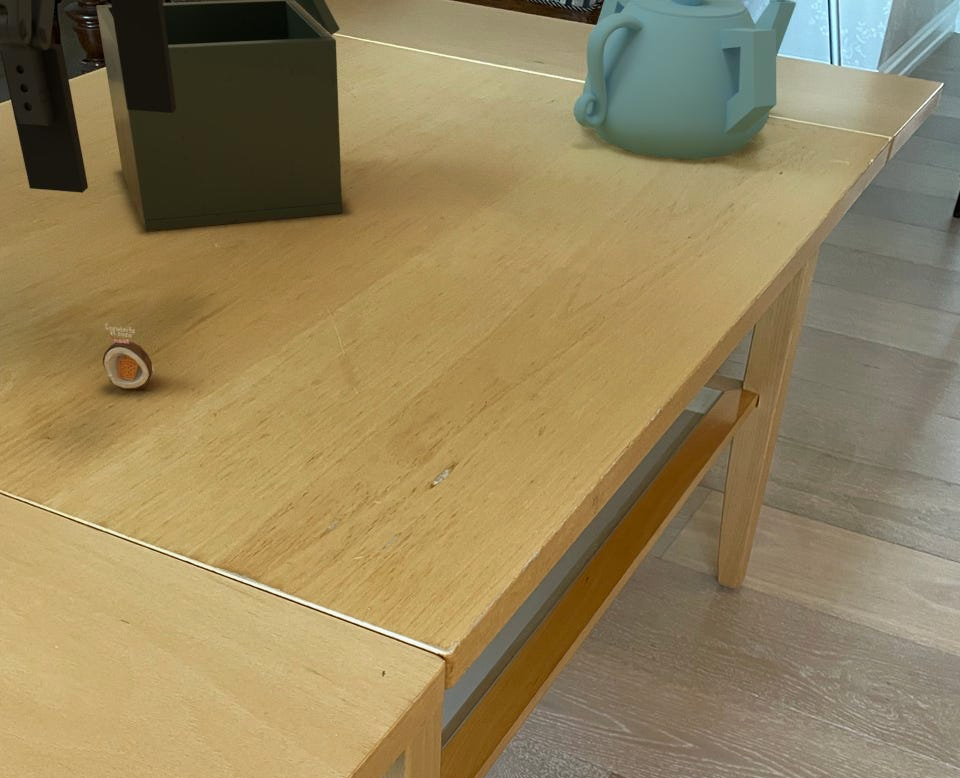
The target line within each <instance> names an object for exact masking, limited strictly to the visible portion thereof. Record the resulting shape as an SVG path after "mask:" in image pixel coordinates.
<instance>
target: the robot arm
mask: <svg viewBox="0 0 960 778" xmlns="http://www.w3.org/2000/svg"><path fill="white" fill-rule="evenodd" d="M163 1H164V0H110V5H111V6H112V13H113V19H114V26H115V32H116V39H117V45H118V52H119V58H120V65H121V71H122V78H123V84H124V91H125V97H126V104H127V110H139V111H152V112H166V113H173V112H174V111H175V110H176V103H175V95H174V87H173V79H172V71H171V63H170V56H169V48H168V40H167V32H166V24H165V16H164V9H163V3H164V2H163ZM55 4H56V0H0V56H1V61H2V66H3V70H4V74H5V78H6V79H5V80H6V84H7V88H8V94H9V99H10V102H11V109H12V112H13V117H14V120H15V126H16V131H17V136H18V140H19V145H20V150H21V155H22V158H23V163H24V168H25V173H26V178H27V182H28V186H29V189H33V190H43V191H44V190H45V191H46V190H47V191H55V192H57V191H58V192H67V193H68V192H69V193H81V194H83V193H84V192H85V191H86V190H87V189H89V184H88V179H87V173H86V168H85V161H84V156H83V152H82V144H81V141H80V135H79V130H78V129H79V128H78V125H77V124H78V123H77V119H76V113H75V108H74V102H73V96H72V91H71V85H70V81H69V74H68V69H67V63H66V58H65V52H64V47H63V44H59V43H58V44H56V43H51V42H52V34H53V33H52V32H53V22H54V13H55Z"/></svg>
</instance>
